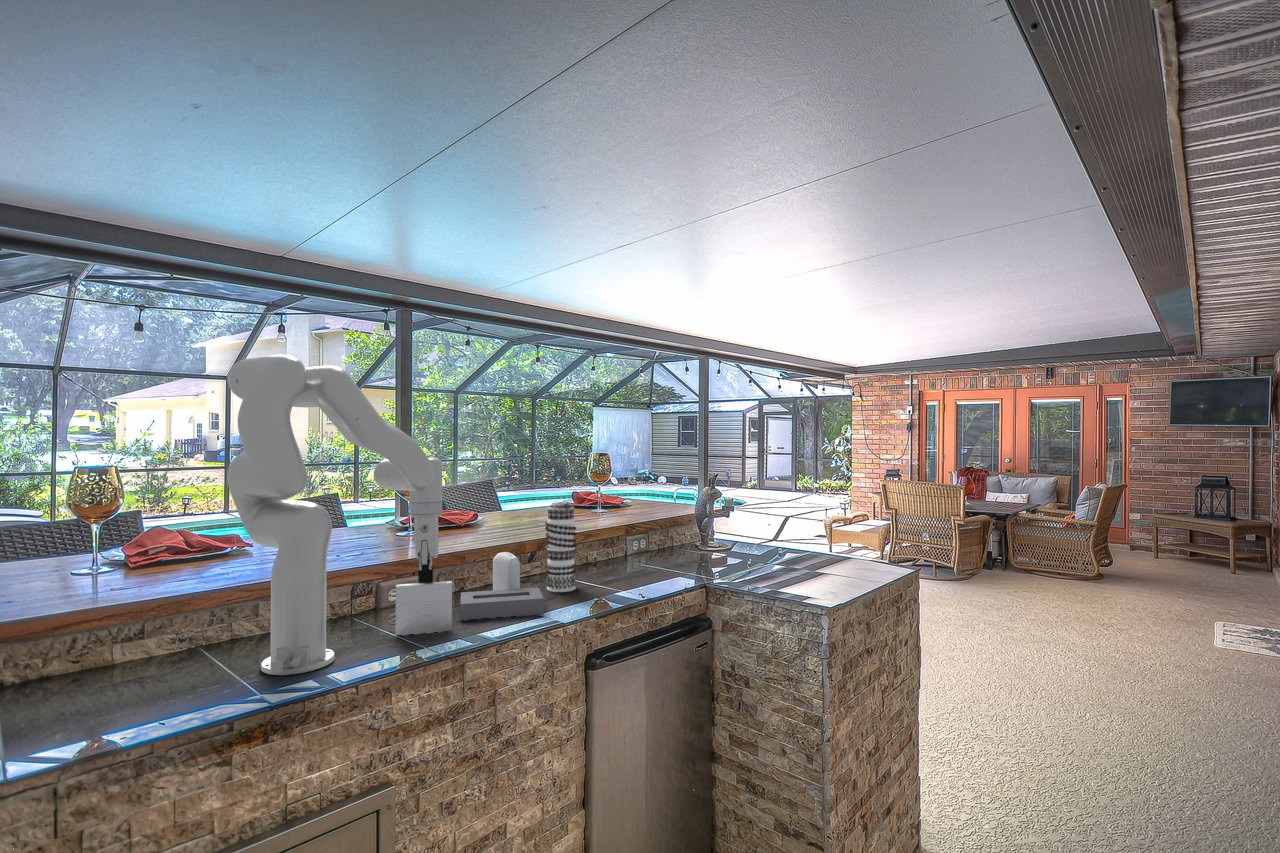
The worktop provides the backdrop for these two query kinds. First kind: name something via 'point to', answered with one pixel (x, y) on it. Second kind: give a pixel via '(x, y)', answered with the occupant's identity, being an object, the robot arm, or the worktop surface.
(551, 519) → the decorative candle
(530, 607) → the slot holder
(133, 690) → the worktop surface
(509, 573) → the white rounded box
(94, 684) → the worktop surface
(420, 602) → the cover plate
